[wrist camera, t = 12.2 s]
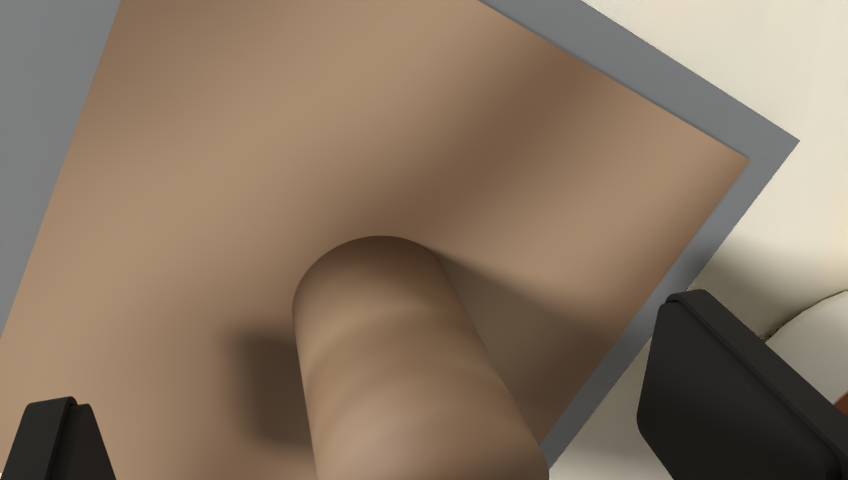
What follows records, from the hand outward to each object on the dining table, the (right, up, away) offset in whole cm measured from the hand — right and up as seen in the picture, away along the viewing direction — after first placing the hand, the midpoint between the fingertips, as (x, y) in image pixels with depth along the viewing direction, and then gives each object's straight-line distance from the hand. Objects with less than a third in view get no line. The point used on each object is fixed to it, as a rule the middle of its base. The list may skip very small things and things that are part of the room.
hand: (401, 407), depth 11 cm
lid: (-1, +2, +3) cm, 4 cm away
